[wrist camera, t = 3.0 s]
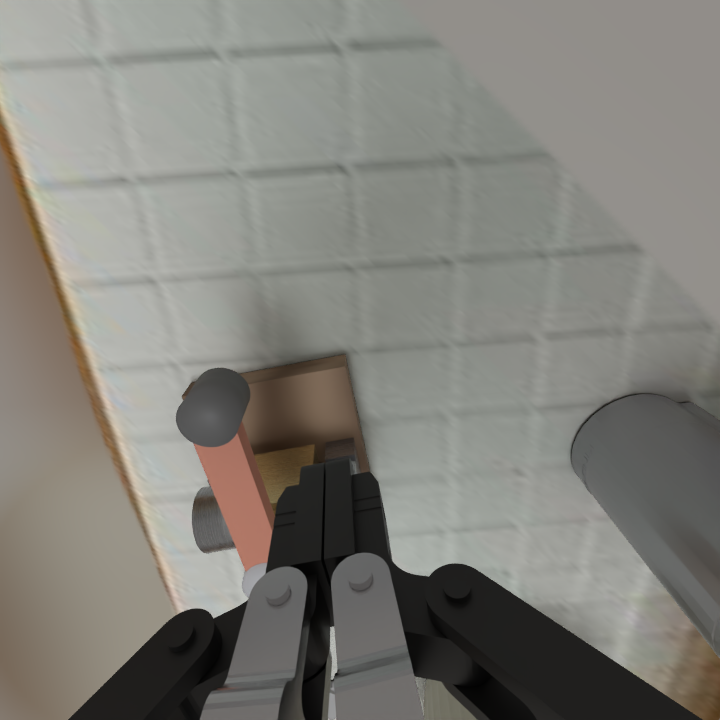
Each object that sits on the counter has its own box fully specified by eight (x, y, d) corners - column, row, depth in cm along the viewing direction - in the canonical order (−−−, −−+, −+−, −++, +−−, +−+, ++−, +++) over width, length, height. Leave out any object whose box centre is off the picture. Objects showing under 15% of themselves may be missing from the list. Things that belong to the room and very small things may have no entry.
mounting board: (345, 354, 30) (345, 366, 28) (377, 507, 35) (379, 525, 34) (191, 382, 30) (181, 396, 28) (247, 529, 36) (243, 548, 34)
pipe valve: (350, 425, 30) (355, 506, 23) (363, 481, 32) (370, 573, 25) (210, 450, 30) (170, 539, 23) (232, 504, 32) (201, 601, 25)
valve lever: (243, 362, 20) (230, 390, 17) (306, 557, 25) (302, 600, 23) (185, 373, 20) (163, 402, 18) (259, 565, 25) (250, 608, 23)
